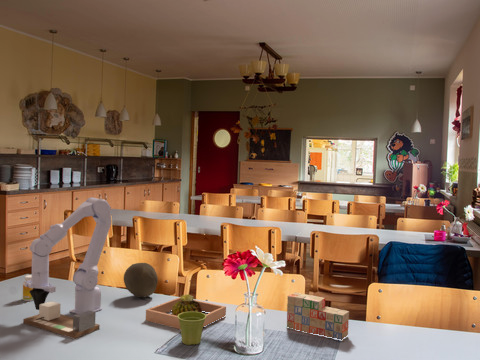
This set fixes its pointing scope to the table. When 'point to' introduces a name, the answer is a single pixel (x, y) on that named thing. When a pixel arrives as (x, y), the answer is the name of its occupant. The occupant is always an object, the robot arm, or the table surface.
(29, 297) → the supplement bottle
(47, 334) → the table surface
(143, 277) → the dark brown ball
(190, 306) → the cactus
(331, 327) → the stack of blocks
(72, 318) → the gauge track
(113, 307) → the table surface
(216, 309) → the planter frame
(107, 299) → the table surface
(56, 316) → the block
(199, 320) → the plant pot
